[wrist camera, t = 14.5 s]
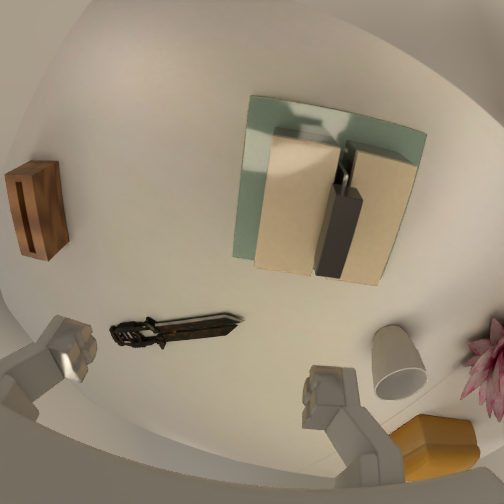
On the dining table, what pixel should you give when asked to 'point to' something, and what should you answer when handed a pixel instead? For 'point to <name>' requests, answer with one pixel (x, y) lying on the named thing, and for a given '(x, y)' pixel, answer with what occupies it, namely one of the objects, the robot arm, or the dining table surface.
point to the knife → (173, 327)
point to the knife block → (37, 208)
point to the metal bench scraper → (337, 226)
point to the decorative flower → (488, 370)
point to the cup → (396, 365)
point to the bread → (436, 446)
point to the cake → (321, 185)
